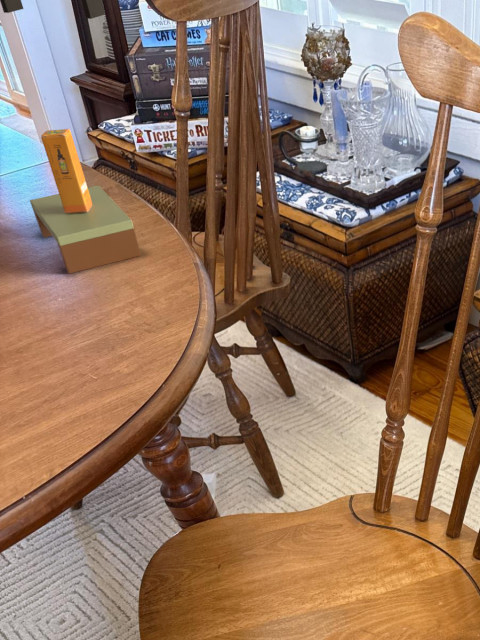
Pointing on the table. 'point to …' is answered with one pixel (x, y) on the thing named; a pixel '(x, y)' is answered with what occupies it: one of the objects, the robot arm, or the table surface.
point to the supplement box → (67, 170)
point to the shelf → (87, 231)
